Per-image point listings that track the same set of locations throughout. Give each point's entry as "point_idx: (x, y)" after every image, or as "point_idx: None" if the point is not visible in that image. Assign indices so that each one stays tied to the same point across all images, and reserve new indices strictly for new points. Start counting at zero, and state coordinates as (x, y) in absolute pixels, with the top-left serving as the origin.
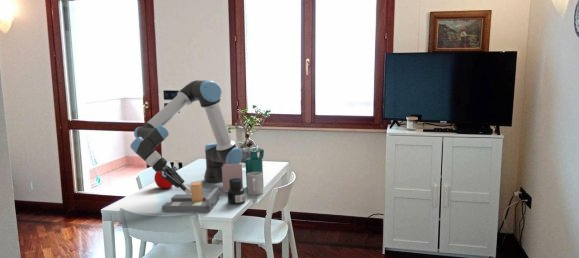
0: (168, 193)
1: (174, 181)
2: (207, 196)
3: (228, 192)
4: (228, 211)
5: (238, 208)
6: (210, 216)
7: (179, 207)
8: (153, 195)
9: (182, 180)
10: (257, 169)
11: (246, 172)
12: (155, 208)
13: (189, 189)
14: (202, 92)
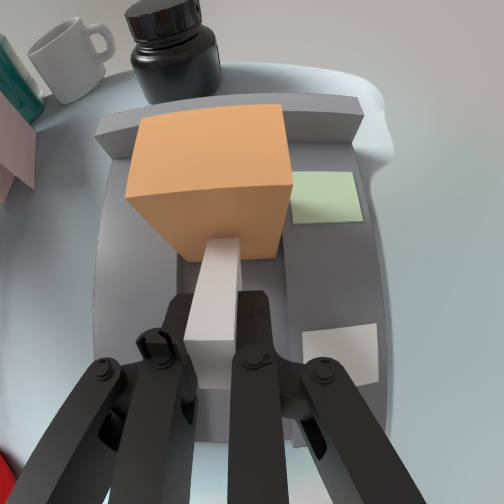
0: None
1: (380, 442)
2: None
3: (197, 56)
4: (311, 85)
5: (268, 65)
6: (388, 135)
7: (379, 309)
8: None
9: (121, 375)
10: (14, 56)
11: None
12: (298, 485)
13: (230, 258)
14: None
